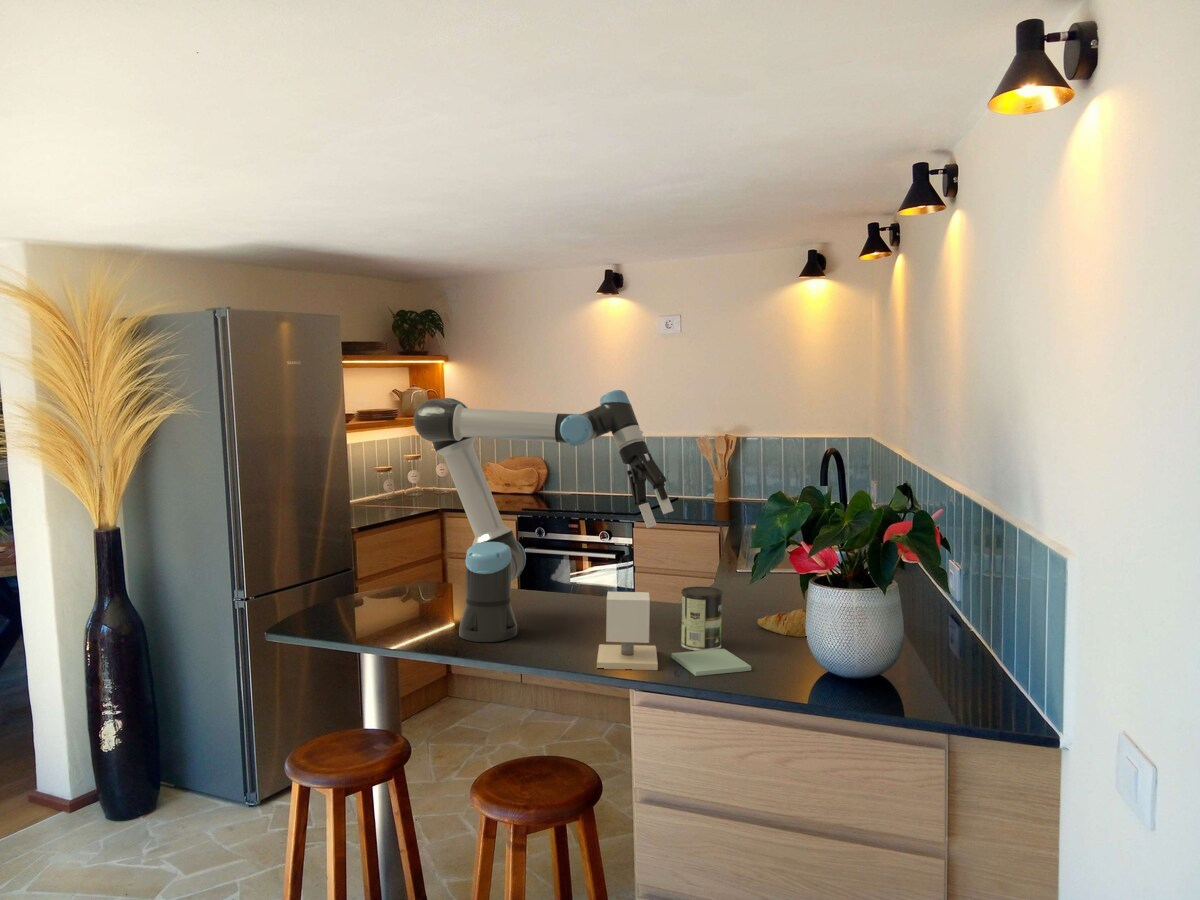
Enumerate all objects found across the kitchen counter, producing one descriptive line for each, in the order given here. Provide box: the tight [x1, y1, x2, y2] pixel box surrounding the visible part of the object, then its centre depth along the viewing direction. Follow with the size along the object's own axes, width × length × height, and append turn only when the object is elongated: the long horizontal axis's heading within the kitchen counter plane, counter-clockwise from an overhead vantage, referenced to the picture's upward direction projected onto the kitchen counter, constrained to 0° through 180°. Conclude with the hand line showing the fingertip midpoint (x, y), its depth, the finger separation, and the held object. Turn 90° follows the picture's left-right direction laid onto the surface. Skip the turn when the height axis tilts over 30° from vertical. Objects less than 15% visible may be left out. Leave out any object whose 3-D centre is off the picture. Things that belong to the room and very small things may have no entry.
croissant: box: [757, 608, 807, 638], centre depth 223 cm, size 21×10×8 cm, turn 66°
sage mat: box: [671, 648, 752, 677], centre depth 196 cm, size 14×14×1 cm
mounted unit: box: [596, 591, 659, 671], centre depth 197 cm, size 14×14×16 cm
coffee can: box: [680, 586, 723, 651], centre depth 210 cm, size 10×10×14 cm
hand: (660, 519), depth 215 cm, fingers open, 13 cm apart
